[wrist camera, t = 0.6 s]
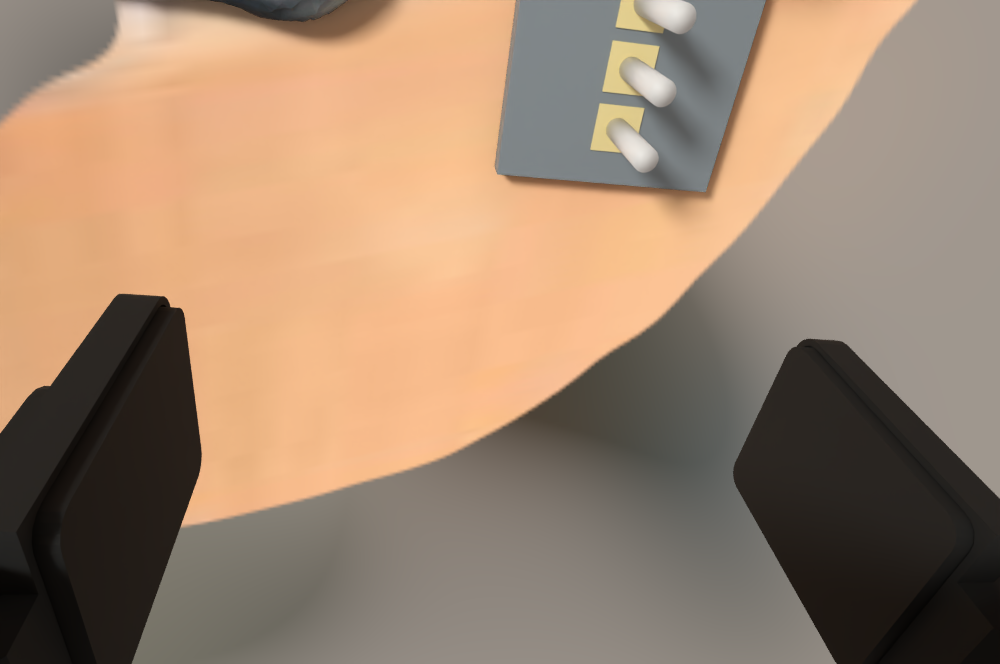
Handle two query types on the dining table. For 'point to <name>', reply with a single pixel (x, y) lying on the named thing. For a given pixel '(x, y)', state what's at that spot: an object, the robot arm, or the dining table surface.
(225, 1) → the electronic device
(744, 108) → the dining table surface
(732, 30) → the header board
